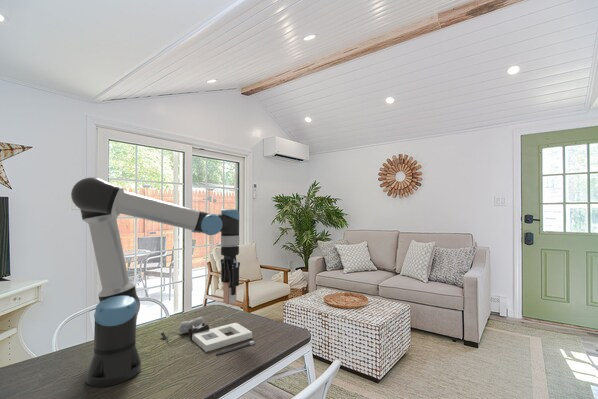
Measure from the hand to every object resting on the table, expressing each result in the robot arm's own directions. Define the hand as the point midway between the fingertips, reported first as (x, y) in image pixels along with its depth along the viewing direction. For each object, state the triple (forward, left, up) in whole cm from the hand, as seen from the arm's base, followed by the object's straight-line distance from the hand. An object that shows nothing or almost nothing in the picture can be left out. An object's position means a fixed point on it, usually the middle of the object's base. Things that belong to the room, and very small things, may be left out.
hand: (229, 301), depth 126 cm
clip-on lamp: (-14, +13, -15) cm, 25 cm away
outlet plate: (-3, +1, -15) cm, 15 cm away
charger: (0, 0, 0) cm, 0 cm away
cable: (-4, -11, -15) cm, 19 cm away
